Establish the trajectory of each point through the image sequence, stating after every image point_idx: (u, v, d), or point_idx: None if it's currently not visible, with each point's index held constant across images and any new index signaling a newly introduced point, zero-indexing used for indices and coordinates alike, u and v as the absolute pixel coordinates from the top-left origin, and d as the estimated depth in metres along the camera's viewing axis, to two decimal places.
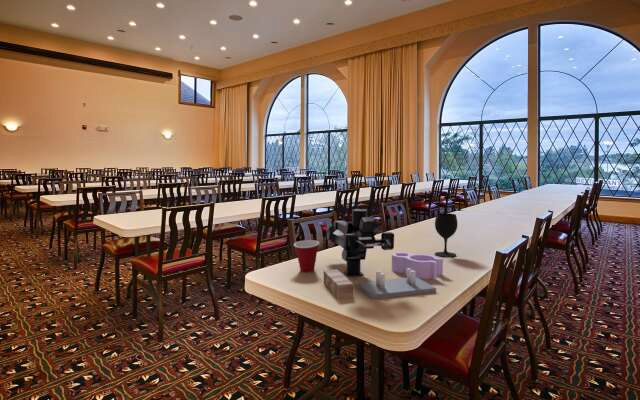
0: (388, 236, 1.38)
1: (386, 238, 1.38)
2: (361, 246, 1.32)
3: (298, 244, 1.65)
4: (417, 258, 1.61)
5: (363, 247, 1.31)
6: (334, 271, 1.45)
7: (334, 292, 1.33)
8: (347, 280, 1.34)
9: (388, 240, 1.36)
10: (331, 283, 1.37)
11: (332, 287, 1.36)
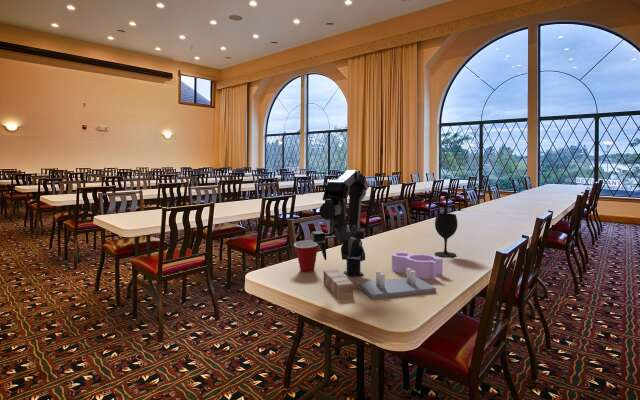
0: (356, 242, 1.37)
1: (353, 244, 1.37)
2: (323, 254, 1.36)
3: (298, 244, 1.65)
4: (417, 258, 1.61)
5: (324, 257, 1.36)
6: (334, 271, 1.45)
7: (334, 292, 1.33)
8: (347, 280, 1.34)
9: (353, 247, 1.38)
10: (331, 283, 1.37)
11: (332, 287, 1.36)
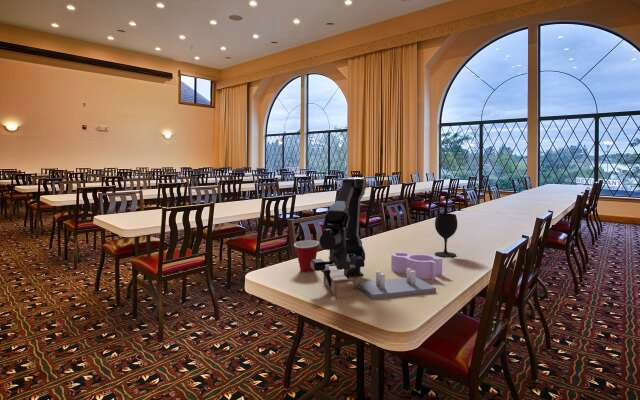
0: (352, 270, 1.37)
1: (349, 272, 1.38)
2: (327, 282, 1.37)
3: (298, 244, 1.65)
4: (417, 258, 1.61)
5: None
6: (334, 271, 1.45)
7: (334, 292, 1.33)
8: (347, 280, 1.34)
9: (349, 275, 1.38)
10: (331, 282, 1.37)
11: (332, 286, 1.36)
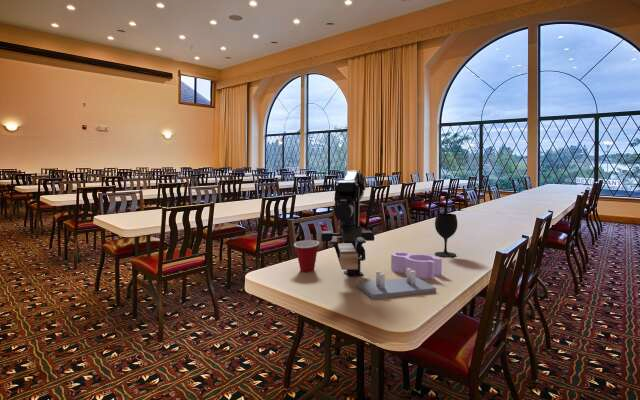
0: (361, 244, 1.35)
1: (358, 245, 1.36)
2: None
3: (298, 244, 1.65)
4: (416, 258, 1.61)
5: None
6: (347, 244, 1.44)
7: (340, 263, 1.32)
8: (354, 252, 1.32)
9: (358, 249, 1.36)
10: None
11: None
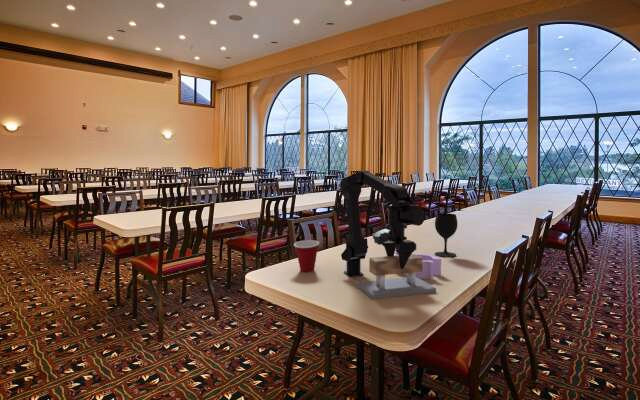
0: (398, 253, 1.30)
1: None
2: None
3: (298, 244, 1.65)
4: None
5: None
6: (413, 257, 1.38)
7: None
8: (384, 260, 1.34)
9: (400, 258, 1.31)
10: None
11: None
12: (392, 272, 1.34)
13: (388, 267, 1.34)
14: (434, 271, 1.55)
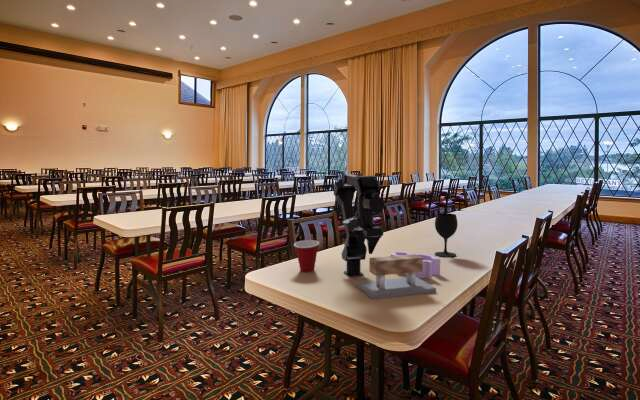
0: (366, 238, 1.36)
1: (367, 239, 1.38)
2: None
3: (298, 244, 1.65)
4: None
5: None
6: (413, 257, 1.38)
7: None
8: (384, 260, 1.34)
9: (368, 243, 1.38)
10: None
11: None
12: (392, 272, 1.34)
13: (388, 267, 1.34)
14: (433, 271, 1.55)
